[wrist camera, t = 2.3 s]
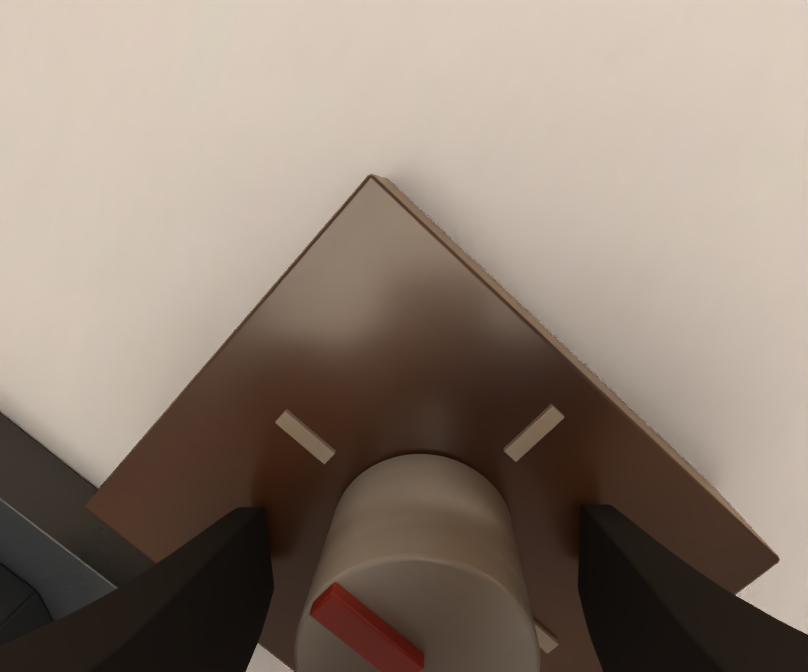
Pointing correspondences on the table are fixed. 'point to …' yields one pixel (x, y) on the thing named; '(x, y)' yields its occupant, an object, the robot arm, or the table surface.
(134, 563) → the button box
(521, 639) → the dial
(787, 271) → the table surface
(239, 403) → the control panel
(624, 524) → the robot arm
